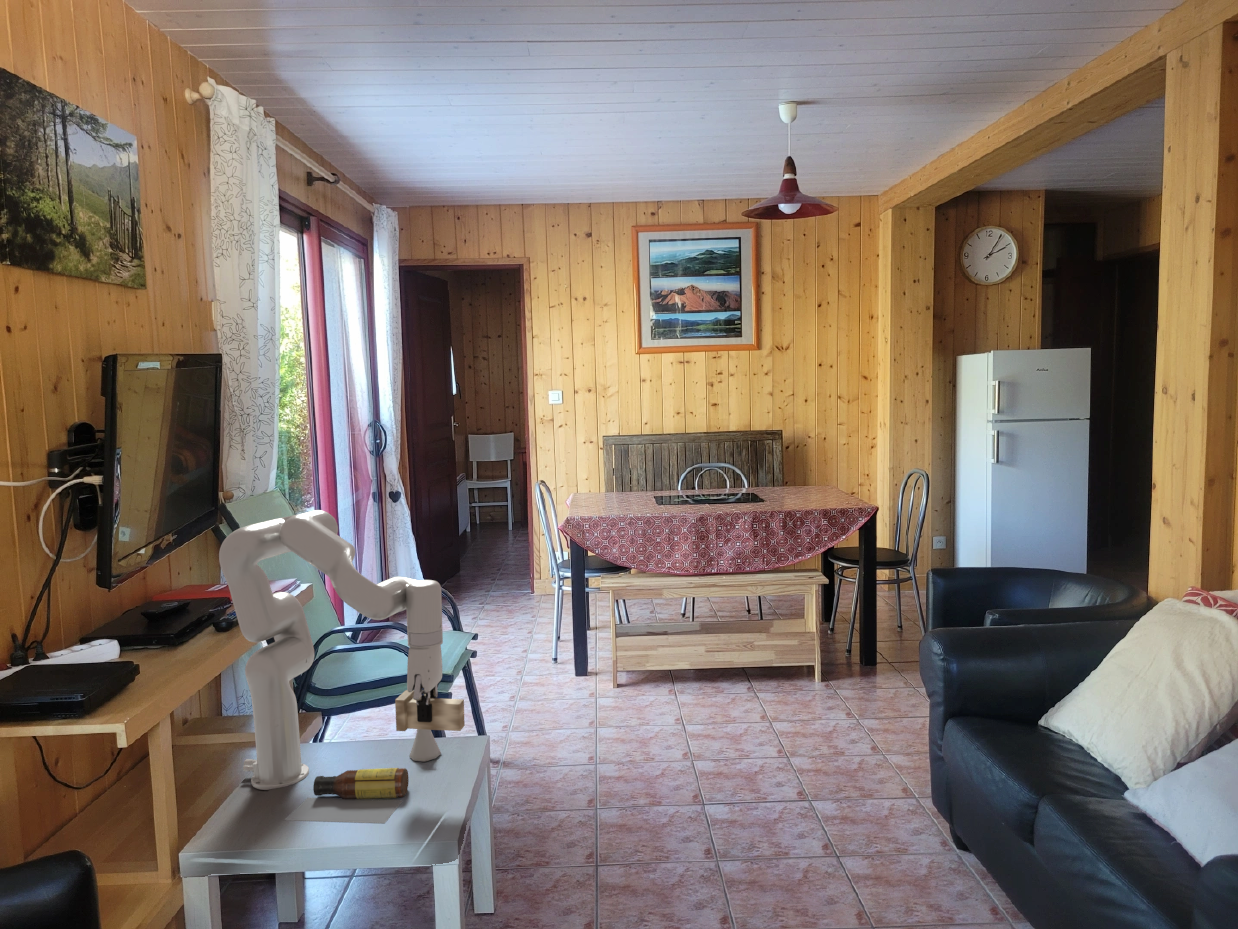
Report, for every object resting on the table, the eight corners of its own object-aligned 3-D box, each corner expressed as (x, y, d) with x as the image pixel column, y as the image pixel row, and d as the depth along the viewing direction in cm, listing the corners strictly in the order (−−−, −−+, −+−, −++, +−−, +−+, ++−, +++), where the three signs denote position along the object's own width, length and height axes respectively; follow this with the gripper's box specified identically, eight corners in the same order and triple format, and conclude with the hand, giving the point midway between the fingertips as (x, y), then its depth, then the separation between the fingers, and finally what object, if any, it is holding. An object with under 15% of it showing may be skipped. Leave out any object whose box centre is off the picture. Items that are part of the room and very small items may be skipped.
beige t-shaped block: (396, 731, 190) (395, 700, 190) (406, 720, 196) (405, 690, 196) (458, 733, 188) (457, 702, 188) (466, 723, 194) (465, 692, 194)
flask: (424, 765, 208) (421, 724, 207) (403, 758, 212) (401, 718, 211) (446, 754, 213) (444, 714, 213) (426, 747, 218) (424, 709, 217)
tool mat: (284, 823, 182) (284, 820, 182) (307, 800, 192) (307, 797, 191) (384, 826, 179) (384, 823, 178) (403, 803, 188) (403, 800, 188)
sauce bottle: (411, 770, 196) (323, 770, 196) (404, 765, 190) (314, 765, 191) (407, 801, 192) (318, 801, 193) (400, 797, 187) (309, 797, 187)
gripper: (422, 626, 199) (424, 704, 201) (394, 647, 183) (397, 732, 185) (453, 627, 198) (456, 705, 200) (428, 649, 182) (431, 734, 184)
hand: (427, 717), depth 192 cm, fingers closed on beige t-shaped block, 2 cm apart
